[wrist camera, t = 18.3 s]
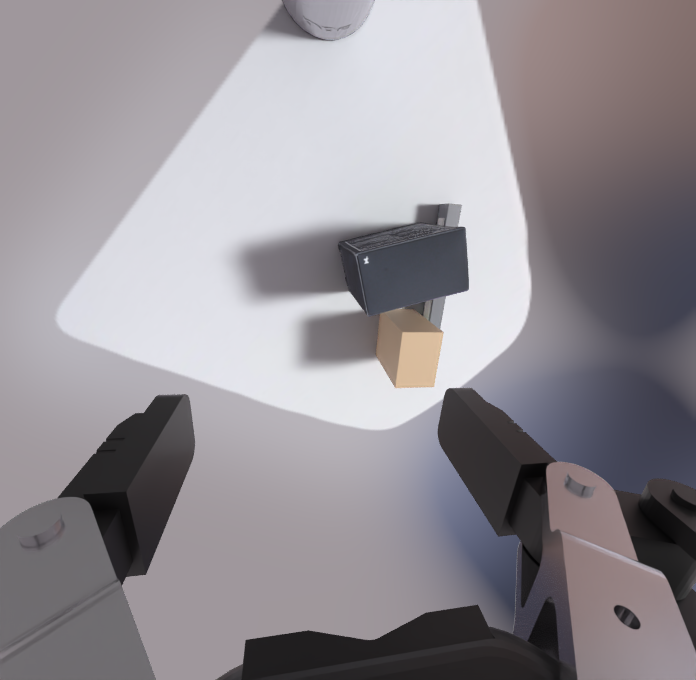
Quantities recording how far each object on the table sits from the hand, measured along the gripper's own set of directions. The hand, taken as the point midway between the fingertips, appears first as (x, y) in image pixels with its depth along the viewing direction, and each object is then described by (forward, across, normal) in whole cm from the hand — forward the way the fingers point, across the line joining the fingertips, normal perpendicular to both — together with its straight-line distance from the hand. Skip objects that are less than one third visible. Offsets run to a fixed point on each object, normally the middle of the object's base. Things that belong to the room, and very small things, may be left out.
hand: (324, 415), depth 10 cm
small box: (+30, -10, -2) cm, 32 cm away
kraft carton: (+30, -12, +8) cm, 34 cm away
